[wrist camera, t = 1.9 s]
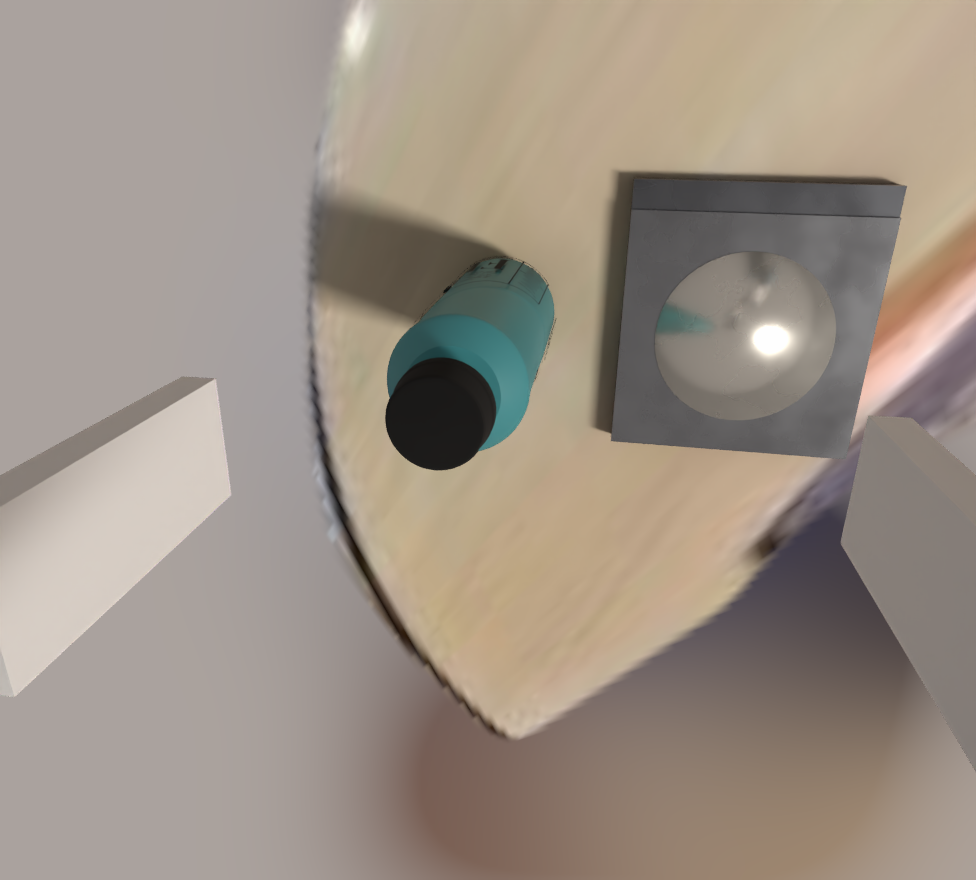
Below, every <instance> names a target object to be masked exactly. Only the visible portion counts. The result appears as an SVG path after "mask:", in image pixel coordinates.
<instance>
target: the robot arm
mask: <svg viewBox="0 0 976 880" xmlns="http://www.w3.org/2000/svg"><path fill="white" fill-rule="evenodd" d="M230 496H231V488H230V481H229V473H228V467H227V459H226V452H225V444H224V436H223V429H222V421H221V414H220V407H219V399H218V392H217V384H216V379H215V378H198V377H181V378H179V379H177V380H175V381H173V382H172V383H169V384H168V385H166V386H164V387H162V388H160V389H158V390H157V391H155V392H153V393H151V394H149V395H147V396H146V397H144V398H142V399H140V400H138V401H136V402H134V403H133V404H131V405H129V406H127V407H126V408H123V409H122V410H120V411H118V412H116V413H114V414H112V415H111V416H109V417H107V418H105V419H103V420H101V421H100V422H98V423H96V424H94V425H92V426H90V427H89V428H87V429H85V430H83V431H81V432H79V433H78V434H76V435H74V436H72V437H70V438H68V439H66V440H65V441H63V442H61V443H59V444H57V445H55V446H54V447H52V448H50V449H48V450H46V451H44V452H43V453H41V454H39V455H37V456H35V457H33V458H31V459H30V460H28V461H26V462H24V463H22V464H20V465H19V466H17V467H15V468H13V469H11V470H9V471H8V472H6V473H4V474H2V475H0V695H2V696H11V697H15V696H16V695H17V694H18V693H19V692H20V691H21V690H22V689H24V688H25V687H26V686H27V685H28V684H29V683H30V682H31V681H32V680H33V679H34V678H35V677H37V676H38V675H39V674H40V673H41V672H42V671H43V670H44V669H45V668H46V667H47V666H48V665H49V664H50V663H51V662H53V661H54V660H55V659H56V658H57V657H58V656H59V655H60V654H61V653H62V652H63V651H64V650H65V649H67V647H69V646H70V645H71V644H72V643H73V642H74V641H75V640H76V639H77V638H78V637H79V636H81V635H82V634H83V633H84V631H86V630H87V629H88V628H89V627H90V626H91V625H92V624H93V623H95V622H96V621H97V620H98V619H99V618H100V617H101V616H102V615H103V614H104V613H105V612H106V611H107V610H108V609H110V608H111V607H112V606H113V605H114V604H115V603H116V602H117V601H118V600H119V599H120V598H121V597H122V596H123V595H125V594H126V593H127V592H128V591H129V590H130V589H131V588H132V587H133V586H134V585H135V584H136V583H137V582H139V580H141V579H142V578H143V577H144V576H145V575H146V574H147V573H148V572H149V571H150V570H151V569H152V568H154V566H156V565H157V564H158V563H159V562H160V561H161V560H162V559H163V558H164V557H165V556H166V555H168V554H169V553H170V552H171V551H172V550H173V549H174V548H175V547H176V546H177V545H178V544H179V543H180V542H181V541H183V540H184V539H185V538H186V537H187V536H188V535H189V534H190V533H191V532H192V531H193V530H194V529H195V528H197V527H198V526H199V525H200V524H201V523H202V522H203V521H204V520H205V519H206V518H207V517H208V516H209V515H210V514H212V513H213V512H214V511H215V510H216V509H217V508H218V507H219V506H220V505H221V504H222V503H223V502H224V501H225V500H226V499H228V498H229V497H230ZM841 545H842V546H843V548H844V550H845V552H846V553H847V555H848V557H849V558H850V560H851V562H852V563H853V565H854V567H855V568H856V570H857V572H858V574H859V575H860V577H861V579H862V580H863V582H864V584H865V585H866V587H867V589H868V590H869V592H870V594H871V595H872V597H873V599H874V601H875V602H876V604H877V606H878V607H879V609H880V611H881V612H882V614H883V616H884V617H885V619H886V621H887V622H888V624H889V626H890V628H891V629H892V631H893V632H894V634H895V636H896V638H897V639H898V641H899V643H900V644H901V646H902V648H903V650H904V651H905V653H906V655H907V656H908V658H909V660H910V661H911V663H912V665H913V666H914V668H915V670H916V671H917V673H918V675H919V677H920V678H921V680H922V682H923V683H924V685H925V687H926V688H927V690H928V692H929V693H930V695H931V697H932V699H933V700H934V702H935V703H936V705H937V707H938V709H939V710H940V712H941V714H942V715H943V717H944V719H945V720H946V722H947V724H948V725H949V727H950V729H951V731H952V732H953V734H954V736H955V737H956V739H957V741H958V742H959V744H960V746H961V747H962V749H963V751H964V753H965V754H966V756H967V758H968V759H969V761H970V763H971V764H972V766H973V768H974V770H975V771H976V475H975V474H974V473H973V472H972V471H971V470H969V469H968V468H967V467H966V466H965V465H964V464H963V463H962V462H960V461H959V460H958V459H957V458H956V457H955V456H954V455H952V454H951V453H950V452H949V451H948V450H947V449H946V448H945V447H944V446H942V445H941V444H940V443H939V442H938V441H937V440H936V439H935V438H933V437H932V436H931V435H930V434H929V433H928V432H927V431H926V430H924V429H923V428H922V427H921V426H920V425H919V424H918V423H917V422H915V421H914V420H913V419H912V418H902V417H885V416H868V419H867V424H866V429H865V433H864V438H863V442H862V447H861V452H860V456H859V461H858V465H857V470H856V475H855V479H854V484H853V488H852V493H851V498H850V502H849V507H848V511H847V516H846V521H845V525H844V530H843V534H842V539H841Z"/></svg>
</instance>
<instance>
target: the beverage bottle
mask: <svg viewBox="0 0 976 880" xmlns="http://www.w3.org/2000/svg"><path fill="white" fill-rule="evenodd" d="M504 257H506V256H504ZM504 257H495V256H494V258H496V259H490V258H489V257H488V259H490V260H487V261H483V262H479V263H476V264H474V266H473V267H472V268H471V269H470V270H469V271H467V272H466V273H465V274H463V276H461V277H460V279H459V280H456V283H455V284H454V282H453V283H452V285H453V284H454V285H453V286H452V287H451V286H448V287H447V288H446V289H445V290H444V292H443V293H445V294H444V295H443V296H442V297H441V298H440V299H439V300H438V301H437V302H436V303H435V304H434V305H433V306H432V308H431V309H430V310H429V311H428V312H427V313H426V314H425V315H424V316H423V317H421V318H422V319H421V320H420V321H419V322H418V323H417V324H416V325H414V326H413V327H412V328H410V329H409V330H408V331H407V332H406V333H405V334H404V335H403V336H402V338H401V339H400V340H399V342H398V343H397V345H396V346H395V348H394V350H393V352H392V355H391V357H390V361H389V365H388V372H387V386H388V393H389V397H390V399H389V402H388V404H387V408H386V416H385V420H386V428H387V432H388V435H389V437H390V440H391V442H392V443H393V445H394V447H395V448H396V449H397V450H398V452H399V453H400V454H401V455H402V456H403V457H405V458H406V459H407V460H408V461H410V462H411V463H413V464H415V465H417V466H419V467H422V468H426V469H430V470H448V469H452V468H455V467H458V466H461V465H463V464H465V463H466V462H468V461H469V460H470V459H471V458H473V457H474V456H475V454H476V453H477V452H478V451H481V450H484V449H487V448H490V447H492V446H494V445H496V444H498V443H500V442H501V441H503V440H504V439H506V438H507V437H508V436H509V435H510V434H511V433H512V432H513V431H514V430H515V429H516V427H517V426H518V425H519V423H520V421H521V420H522V418H523V416H524V414H525V412H526V409H527V405H528V402H529V396H530V391H531V388H532V385H533V382H534V381H535V380H534V379H535V378H537V377H535V376H536V375H537V373H536V372H538V368H539V365H540V363H541V360H542V357H543V356H544V351H545V349H546V345H547V341H548V338H549V335H550V331H551V328H552V325H553V320H554V303H553V299H552V295H551V293H550V290H549V288H548V285H546V283H545V281H544V280H543V279H542V278H541V275H540V274H541V273H540V274H539V273H537V272H536V271H534V269H533V268H534V267H533V268H530V267H529V266H527V265H525V264H523V263H524V261H523V263H521V262H518V261H515V260H513V259H510V258H506V259H505V258H504ZM511 258H512V257H511ZM515 259H516V258H515ZM484 260H485V259H484ZM518 260H519V259H518ZM479 261H480V260H479ZM481 261H482V260H481ZM477 262H478V261H477ZM525 263H526V262H525ZM470 266H471V265H470ZM530 266H531V265H530ZM467 269H468V268H467ZM461 274H462V273H461ZM459 276H460V275H459ZM457 279H458V277H457ZM544 279H545V278H544ZM545 280H546V279H545ZM425 310H426V309H425ZM555 321H556V320H555ZM415 322H416V321H415ZM554 324H555V323H554ZM553 327H554V326H553ZM552 330H553V329H552ZM551 333H552V332H551ZM552 334H553V333H552ZM550 336H551V335H550ZM551 337H552V336H551ZM549 339H551V338H549ZM549 344H550V342H549V341H548V346H549ZM548 346H547V347H548ZM547 350H548V348H547V349H546V351H547ZM546 355H547V353H546ZM545 358H546V357H545ZM542 362H543V361H542Z"/></svg>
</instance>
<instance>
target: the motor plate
mask: <svg viewBox="0 0 976 880" xmlns="http://www.w3.org/2000/svg"><path fill="white" fill-rule="evenodd" d="M906 188H907V186H905V185H895V184H857V183H819V182H780V181H742V180H704V179H665V178H634V183H633V194H632V206H631V217H630V228H629V240H628V251H627V262H626V274H625V285H624V296H623V307H622V319H621V330H620V341H619V353H618V364H617V375H616V387H615V398H614V409H613V420H612V432H611V441H616V442H629V443H642V444H655V445H668V446H681V447H694V448H707V449H720V450H732V451H745V452H758V453H771V454H784V455H797V456H810V457H823V458H835V459H846V456H847V452H848V447H849V443H850V438H851V434H852V430H853V425H854V421H855V417H856V412H857V408H858V404H859V399H860V395H861V390H862V386H863V382H864V377H865V373H866V369H867V364H868V360H869V356H870V351H871V347H872V342H873V338H874V334H875V329H876V325H877V321H878V316H879V312H880V308H881V303H882V299H883V294H884V290H885V286H886V281H887V277H888V273H889V268H890V264H891V259H892V255H893V251H894V246H895V242H896V238H897V233H898V229H899V225H900V220H901V218H900V214H901V210H902V205H903V201H904V196H905V192H906Z"/></svg>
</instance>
